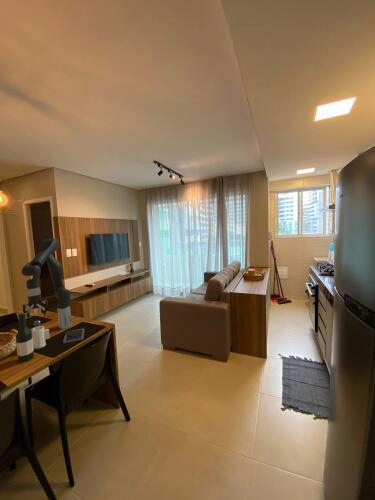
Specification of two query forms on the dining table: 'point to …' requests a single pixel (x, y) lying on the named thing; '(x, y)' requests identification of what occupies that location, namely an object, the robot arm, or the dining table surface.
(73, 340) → the picture frame
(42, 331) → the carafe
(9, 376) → the dining table surface
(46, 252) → the robot arm
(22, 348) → the wine bottle
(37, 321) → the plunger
